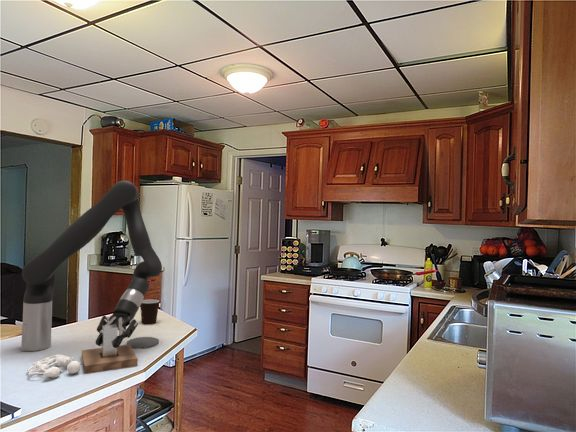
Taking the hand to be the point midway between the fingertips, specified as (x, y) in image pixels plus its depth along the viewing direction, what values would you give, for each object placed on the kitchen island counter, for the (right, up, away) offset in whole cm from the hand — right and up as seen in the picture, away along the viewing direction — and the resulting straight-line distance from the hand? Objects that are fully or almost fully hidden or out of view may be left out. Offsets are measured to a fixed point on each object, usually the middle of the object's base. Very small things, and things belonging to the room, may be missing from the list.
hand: (106, 345), depth 137 cm
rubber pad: (+5, -6, +22) cm, 23 cm away
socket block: (0, -6, +2) cm, 6 cm away
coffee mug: (-3, -6, +53) cm, 53 cm away
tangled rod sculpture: (-14, -6, -8) cm, 17 cm away
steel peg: (0, -6, +2) cm, 6 cm away
